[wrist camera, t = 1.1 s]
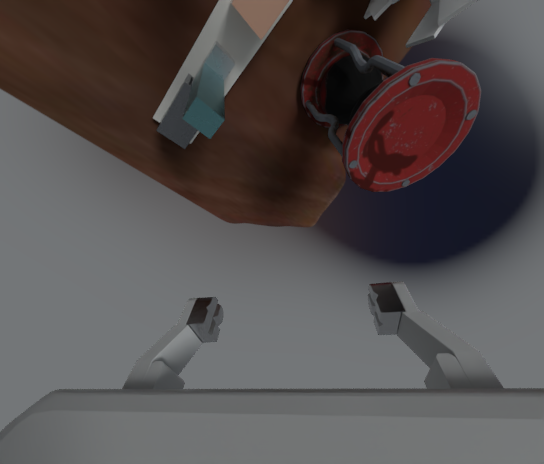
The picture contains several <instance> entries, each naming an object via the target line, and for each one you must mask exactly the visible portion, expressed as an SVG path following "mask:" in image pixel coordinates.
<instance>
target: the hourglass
mask: <svg viewBox="0 0 544 464" xmlns="http://www.w3.org/2000/svg"><path fill="white" fill-rule="evenodd" d="M383 74H384V75H385V76H387V77H389V78H387V79H386V80H384V81H383ZM300 90H301V99H302V104H303V106H304V108H305V110H306V113H307V114H308V116H309V117H310V118H311V119H312V120H313V121H314V122H315V123H316V124H319V125H321V126H324V127H329V131H328V137H329V139H330V140H331V142H332V143H333V144H334V146H335V147H336V149H337V150H338V152H339V153H340V154H341V156H342V162H343V164H344V167H345V169H346V172H347V174H348V176H349V177H350V178H351V180H352V181H353V182H355V184H357V185H358V186H359V187H360V188H363V189H366V190H369V191H372V192H385V191H386V192H387V191H392V190H395V189H399V188H403V187H406V186H408V185H410V184H412V183H414V182H416V181H418V180H420V179H422V178H424V177H425V176H427V175H428V174H429V173H431V172H432V171H433V170H435V169H436V168H438V167H439V166H440V165H441V164H442V163H443V162H444V161H445V160H446V159H447V158H448V157H449V156H450V155H451V154H453V153H454V152H455V150H456V149H457V148H458V147H459V145H460V144H461V142H462V141H463V140H464V138H465V137H466V135H467V134H468V133H469V131H470V129H471V127H472V124H473V122H474V120H475V118H476V115H477V113H478V111H479V104H480V97H481V88H480V85H479V81H478V78H477V75H476V73H475V72H473V71H472V70H471V69H469V68H468V67H467V66H465V65H464V64H463V63H460V62H457V61H454V60H448V59H436V58H430V59H427V60H424V61H421V62H418V63H415V64H411V65H408V66H406V67H404V66H402V65H400V64H397V63H395V62H393V61H391V60H388V59H386V58H384V57H383V54H382V50H381V48H380V47H379V45H378V43H377V41H376V40H375V39H374V38H373V37H371V36H370V35H368V34H367V33H365V32H363V31H358V30H348V29H347V30H344V31H341V32H338V33H335V34H333V35H331V36H330V37H329V38H327V39H326V40H325V41H323V42H322V43H321V44H320V45H319V46H318V47H317V49H316V50H315V51H314V53H313V54H312V55H311V57H310V58H309V60H308V62H307V65H306V67H305V69H304V72H303V75H302V82H301V88H300ZM344 125H348V129H347V132H346V135H345V138H344V141H343V143H342V142H341V141H340V139H339V138H338V137H337V135H336V130H337V129H338V127H340V126H344Z"/></svg>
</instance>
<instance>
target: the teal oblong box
mask: <svg viewBox="0 0 544 464" xmlns="http://www.w3.org/2000/svg"><path fill="white" fill-rule="evenodd" d="M234 66H235V60H234V58H233V57H232V56H231V55H230V54H229V53H228V52H227V51H226V50H225V49H224V48H223V47H222V46H221V45H220V44H219V43H218V42H217V41H215V43H214V45H213V46H212V48H211V50H210V51H209V53H208V55H207V56H206V58H205V60H204V61H203V63H202V65H201V66H200V68H199V69H198V71H197V73H196V74H195V76H194V78H193V79H192V81H191V83H190V85H191V86H192V88H191V92H190V95H189V98H188V102H187V105H186V108H185V111H184V115H183V118H182V119H183V120H185V121H186V122H187V123H189V124H190V125H191V126H193V127H194V128H196V129H197V130H198V131H200V132H201V133H202V134H204V135H205V136H206V137H208V138H209V139H211V137H212V136H213V135H214V133H215V132H216V131H217V129H218V128H219V127H220V125H221V124H222V123H223V121H224V120H225V110H224V80H225V79H226V77H227V76H228V74H229V73H230V71H231V70H232V69H233V67H234Z"/></svg>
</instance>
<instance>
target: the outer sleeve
mask: <svg viewBox="0 0 544 464" xmlns="http://www.w3.org/2000/svg"><path fill="white" fill-rule="evenodd" d="M193 78H194V77H192V76H191V75H190V74H189V73H188V75H187V77H186V78H185V80H184V82H183V84H182V85H181V87H180V89H179V90H178V92H177V94H176V95H175V97H174V99H173V101H172V102H171V104H170V106H169V107H168V109H167V111H166V112H165V114H164V116H163V118H162V119H161V122H160V124H159V126H158V128H157V130H156V131H158V132H159V133H161V134H162V135H164V136H165V137H167V138H168V139H170V140H172V141H173V142H175V143H176V144H178V145H179V146H181V147H182V148H184V149H185V148H186V147H187V145H188V144H189V142H190V141H191V140H192V138H193V137H194V135H195V134H196V133H197V131H198V130H197V129H196V128H194V127H193V126H191V125H190V124H189V123H187V122H186V121H185V120H183V119H182V118H183V115H184V111H185V108H186V105H187V102H188V98H189V95H190V92H191V88H192V86H191V85H190V83H191V81H192V79H193Z"/></svg>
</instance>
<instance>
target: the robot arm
mask: <svg viewBox="0 0 544 464" xmlns="http://www.w3.org/2000/svg"><path fill="white" fill-rule="evenodd" d="M369 292H370V293H369V294H368V304H369V308H370V311H371V313H372V315H374V324H375V327H376V330H377V332H378V335H385V334H386V335H391V334H397V336H398V337H399V338H400V339H401V340H402V341H403V342H404V343H405V344H406V345H407V346H409V347H410V349H411V350H412V351H413V352H414V353H416V354H417V356H418V357H419V358H420V359H421V360H422V361H423V362H425V364H426V365H427V366H428V367H429V368H430V370H429V372H428V375H427V377H426V379H425V381H424V382H425V384H426V387H427V389H183V387H184V384H185V383H184V381H183V380H182V379H181V378H180V377H179V376H178V375H179V373H180V372H181V371H182V369H183V368H184V367H185V365H186V364H187V363H188V362H189V361H190V359H191V358H192V357H193V355H194V354H195V353H196V351H197V350H198V349H199V347H200V346H201V345H202V343H203V342H217V338H218V335H219V331H220V329H219V327H218V326H219V325H220V324H221V323H222V320H223V309H222V307H221V305H219V304H217V303H218V300H217V298H216V297H208V298H193V299H189V300H188V301H187V303H186V305H185V308H184V310H183V312H182V315H181V317H180V319H179V321H178V323H177V325H175V326H173V327H172V328H171V329H170V330H169V331H168V332H167V333H166V334H165V335H164V336H163V337H162V338H161V339H160V340H158V341H157V342H156V343H155V344H154V345H153V346H152V347H151V348H150V349H149V350H148V351H147V352H146V353H145V354H144V355H143V356H141V357H140V358H139V359H138V360H137V361H136V363H135V365H134V367H133V369H132V371H131V373H130V375H129V377H128V379H127V381H126V382H125V384H124V386H123V388H122V389H59V390H55V391H52V392H50V393H49V394H47V395H46V396H44V397H43V398H41V399H40V400H39V401H37V402H36V403H35V404H33V405H32V406H31V407H29V408H28V409H27V410H26V411H25V412H23V413H22V414H21V415H19V416H18V417H17V418H15V419H14V420H13V421H12V422H11V423H9V424H8V425H7V426H6V427H5V428H4V429H3V430H2V431H1V432H0V464H544V388H533V389H532V388H527V389H526V388H522V389H521V388H518V389H517V388H512V389H510V388H507V389H505V388H503V386H502V385H501V383H500V382H499V380H498V379H497V377H496V376H495V374H494V373H493V371H492V370H491V368H490V367H489V365H488V364H487V362H486V360H485V359H484V357H483V356H482V354H481V353H480V351H478V350H477V349H475V348H474V347H472V346H471V345H470V344H468V343H467V342H465V341H464V340H462V339H461V338H460V337H458V336H457V335H456V334H454V333H453V332H451V331H450V330H449V329H447V328H445V327H444V326H443V325H442V324H440V323H439V322H437V321H436V320H435V319H433V318H432V317H430V316H429V315H427V314H426V313H425V312H423V311H419V310H418V308H417V306H416V304H415V302H414V301H413V299H412V297H411V295H410V293H409V291H408V289H407V287H406V286H405V284H404V283H403V282H387V283H376V284H369Z"/></svg>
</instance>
